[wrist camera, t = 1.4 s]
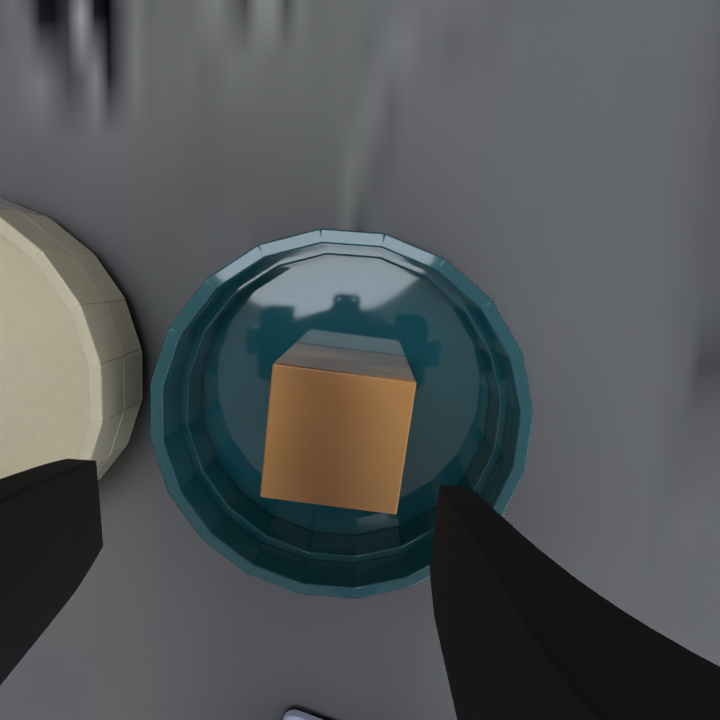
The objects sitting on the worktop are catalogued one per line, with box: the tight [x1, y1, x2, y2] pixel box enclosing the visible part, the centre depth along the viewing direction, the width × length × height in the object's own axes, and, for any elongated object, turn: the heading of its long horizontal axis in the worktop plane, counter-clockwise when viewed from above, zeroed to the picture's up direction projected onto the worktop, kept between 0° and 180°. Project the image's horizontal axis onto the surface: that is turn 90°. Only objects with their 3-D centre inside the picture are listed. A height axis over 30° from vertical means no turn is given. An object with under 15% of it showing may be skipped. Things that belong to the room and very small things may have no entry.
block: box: [260, 343, 417, 514], centre depth 17 cm, size 4×4×4 cm
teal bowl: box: [151, 229, 533, 598], centre depth 18 cm, size 13×13×4 cm
